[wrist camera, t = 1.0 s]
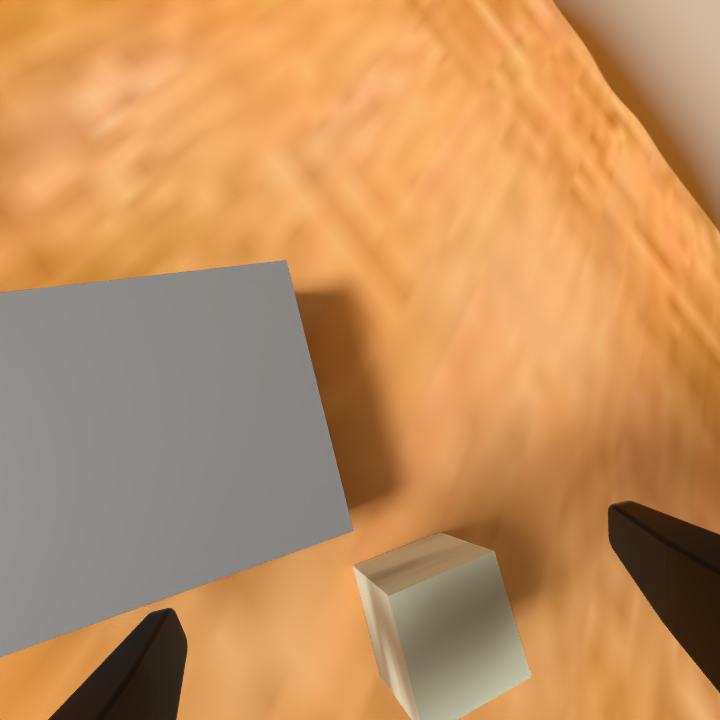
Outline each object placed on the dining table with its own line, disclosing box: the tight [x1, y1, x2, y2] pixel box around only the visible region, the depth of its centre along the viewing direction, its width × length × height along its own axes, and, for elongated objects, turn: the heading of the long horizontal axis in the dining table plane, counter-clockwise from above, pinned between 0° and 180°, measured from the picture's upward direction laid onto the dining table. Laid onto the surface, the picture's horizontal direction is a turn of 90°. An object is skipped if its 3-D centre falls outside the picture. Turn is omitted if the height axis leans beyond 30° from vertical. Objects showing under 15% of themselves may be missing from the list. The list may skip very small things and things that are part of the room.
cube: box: [353, 532, 532, 720], centre depth 19 cm, size 5×5×5 cm
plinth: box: [0, 260, 353, 657], centre depth 18 cm, size 12×12×4 cm
